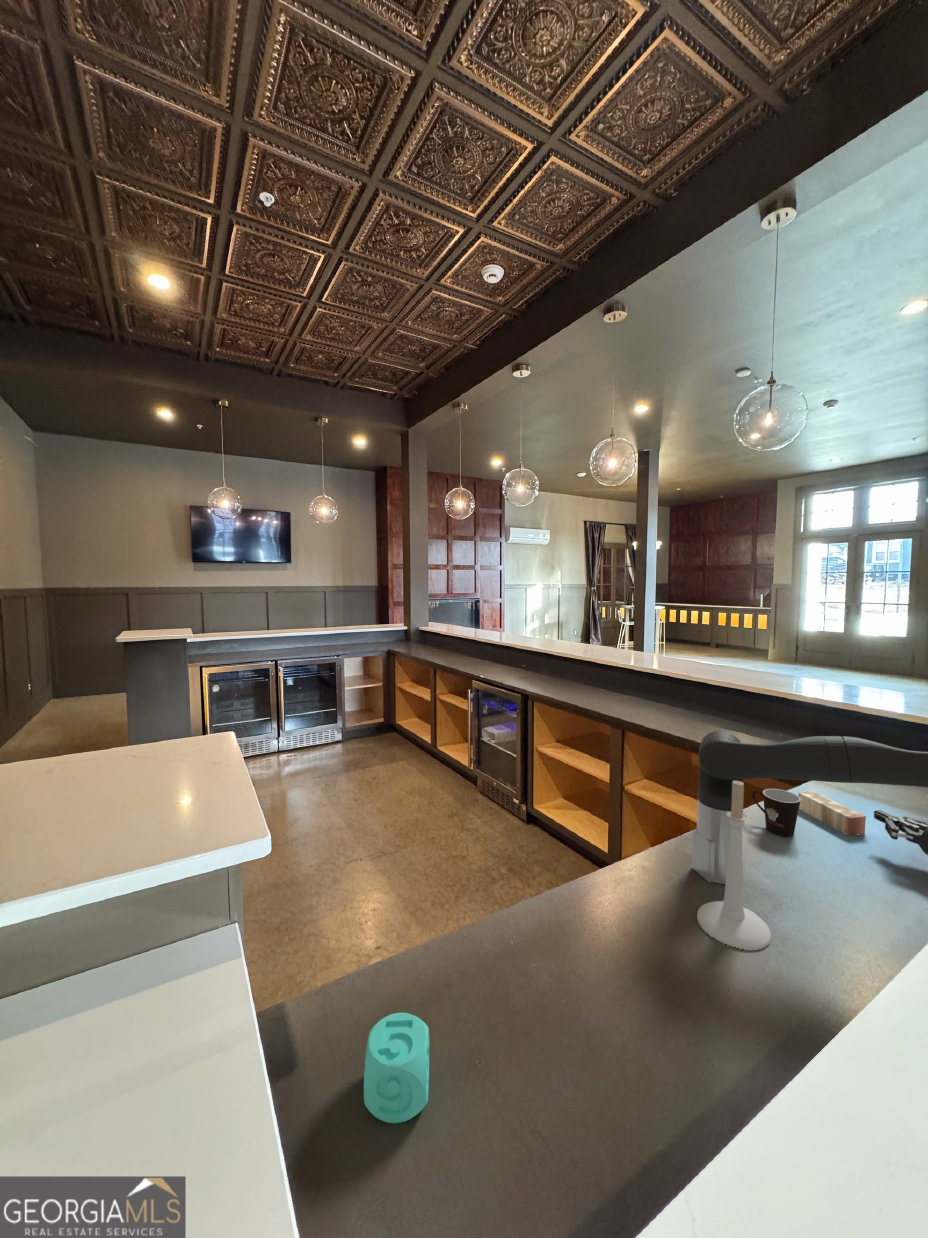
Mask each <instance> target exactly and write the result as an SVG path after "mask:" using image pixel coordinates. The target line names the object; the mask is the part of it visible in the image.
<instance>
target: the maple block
mask: <svg viewBox="0 0 928 1238" xmlns="http://www.w3.org/2000/svg"><path fill="white" fill-rule="evenodd" d="M797 796H799V797H800V799H801V800H800V805H799V809H801V810H803V811H804V812H803V811H802V812H803V813H805V812H806V813H805V814H807V813H808V815H809V816H811V817H812V818H814V817H815V818H814V819H816V818H817V820H818V819H819V820H818V821H820V820H821V821H820V822H821V823H824V822H825V824H826V825H828V826H829V825H830V826H829V827H831V826H832V828H833V827H834V828H833V829H835V830H836V831H839V832H840V833H843V832H844V833H846V834H847V835H846V834H845V835H846V836H849V837H852V836H851V835H854V836H858V835H857V834H861V835H865V834H866V818H867V816H866V815H864V814H862V813H861V812H858V811H856V810H854V809H851V808H849V807H847V806H845V805H843V804H841V803H839V802H837V801H835V800H833V799H830V798H828V797H827V796H825V795H822V794H820V793H817V792H815V791H813V790H808V791H800V792H799V791H798V792H797ZM801 810H800V811H801ZM844 833H843V834H844ZM864 833H865V834H864Z"/></svg>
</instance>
